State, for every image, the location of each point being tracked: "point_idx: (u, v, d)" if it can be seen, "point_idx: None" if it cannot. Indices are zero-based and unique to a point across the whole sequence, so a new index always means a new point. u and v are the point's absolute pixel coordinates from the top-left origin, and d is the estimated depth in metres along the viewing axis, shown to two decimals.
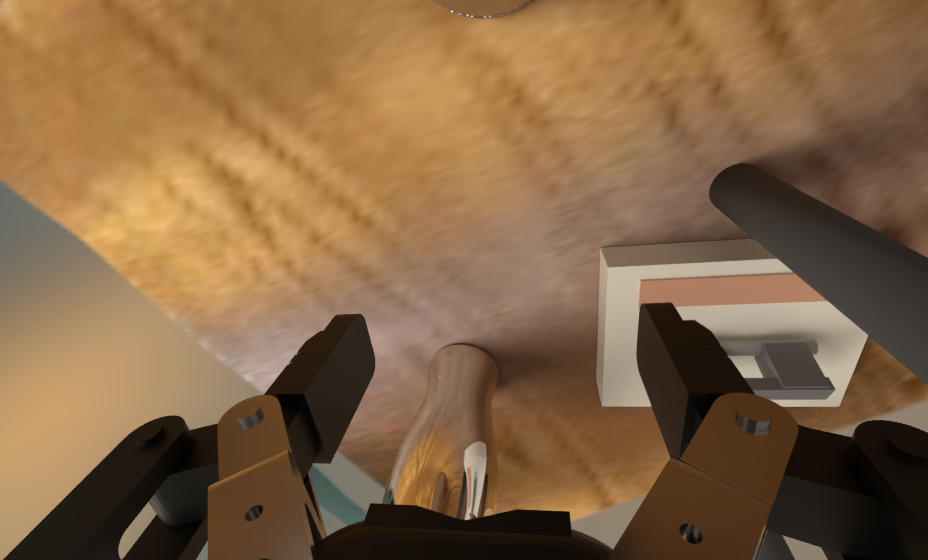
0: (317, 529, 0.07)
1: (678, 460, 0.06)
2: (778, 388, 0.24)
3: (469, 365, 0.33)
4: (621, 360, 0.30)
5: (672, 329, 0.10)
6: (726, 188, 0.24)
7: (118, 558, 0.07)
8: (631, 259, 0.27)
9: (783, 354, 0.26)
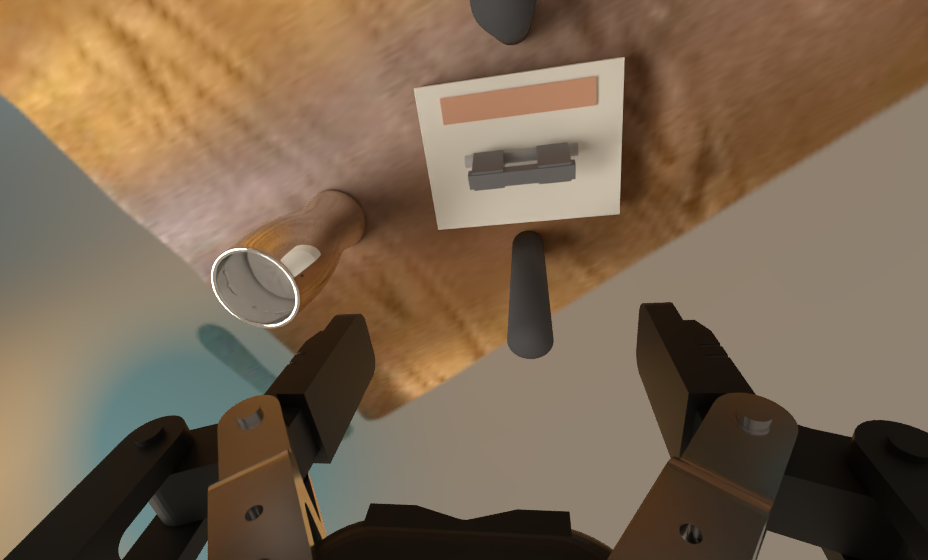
0: (317, 529, 0.07)
1: (678, 460, 0.06)
2: (535, 168, 0.31)
3: (331, 200, 0.40)
4: (443, 181, 0.36)
5: (672, 329, 0.10)
6: None
7: (118, 558, 0.07)
8: None
9: (547, 149, 0.32)
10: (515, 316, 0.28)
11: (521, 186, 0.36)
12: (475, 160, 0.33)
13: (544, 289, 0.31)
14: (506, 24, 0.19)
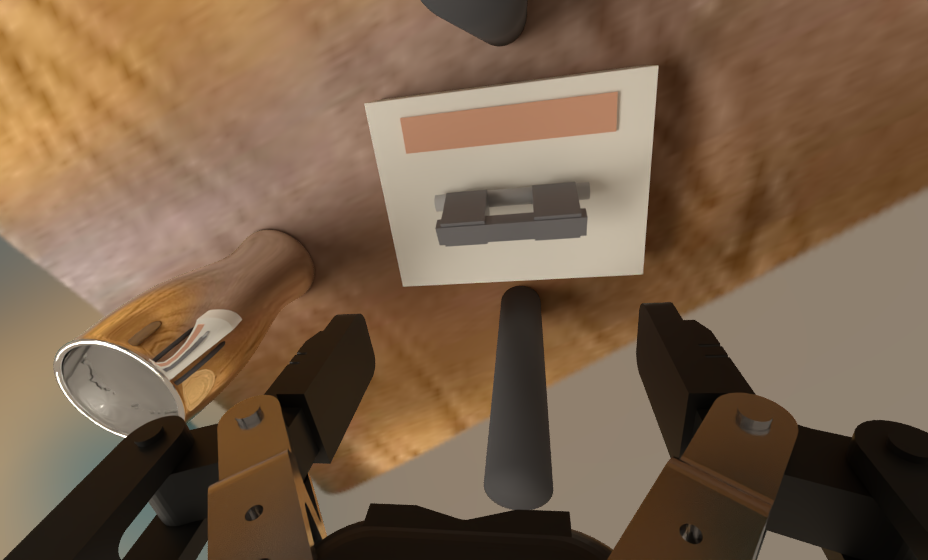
0: (317, 529, 0.07)
1: (678, 460, 0.06)
2: (530, 220, 0.22)
3: (265, 245, 0.30)
4: (407, 225, 0.27)
5: (672, 329, 0.10)
6: None
7: (118, 558, 0.07)
8: None
9: (547, 192, 0.23)
10: (496, 446, 0.19)
11: None
12: (447, 204, 0.24)
13: (540, 390, 0.22)
14: (473, 3, 0.10)
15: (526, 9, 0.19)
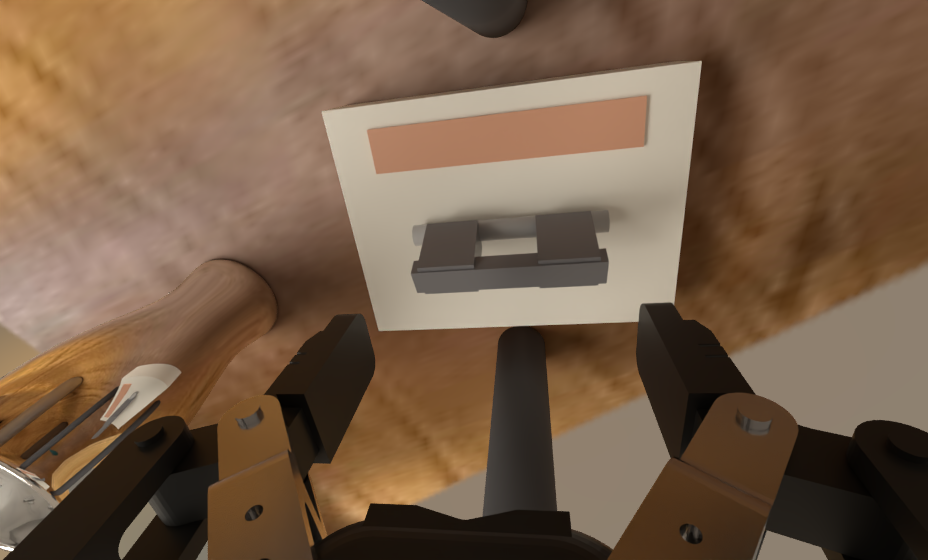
0: (317, 529, 0.07)
1: (678, 460, 0.06)
2: (533, 265, 0.17)
3: (213, 280, 0.25)
4: (381, 260, 0.22)
5: (672, 329, 0.10)
6: None
7: (118, 558, 0.07)
8: (361, 105, 0.20)
9: (555, 225, 0.18)
10: None
11: None
12: (427, 239, 0.19)
13: (547, 485, 0.17)
14: None
15: None
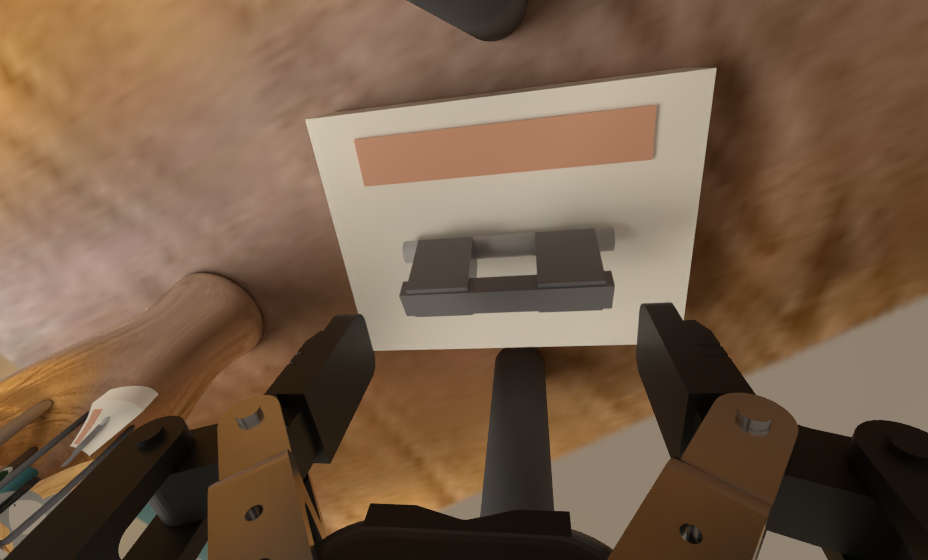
0: (317, 529, 0.07)
1: (678, 460, 0.06)
2: (532, 288, 0.15)
3: (193, 295, 0.24)
4: (370, 277, 0.21)
5: (672, 329, 0.10)
6: None
7: (118, 558, 0.07)
8: (349, 112, 0.18)
9: (556, 244, 0.17)
10: None
11: None
12: (418, 258, 0.17)
13: None
14: None
15: None
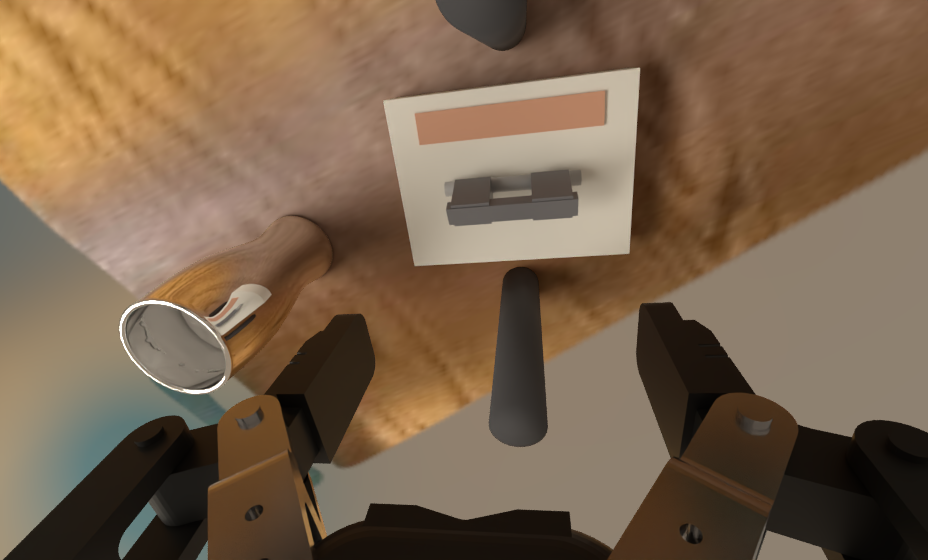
0: (317, 529, 0.07)
1: (678, 460, 0.06)
2: (528, 202, 0.25)
3: (290, 228, 0.34)
4: (419, 210, 0.31)
5: (672, 329, 0.10)
6: None
7: (118, 558, 0.07)
8: (410, 96, 0.28)
9: (544, 178, 0.26)
10: (499, 392, 0.22)
11: None
12: (456, 189, 0.27)
13: (537, 350, 0.25)
14: (484, 19, 0.14)
15: (525, 19, 0.22)
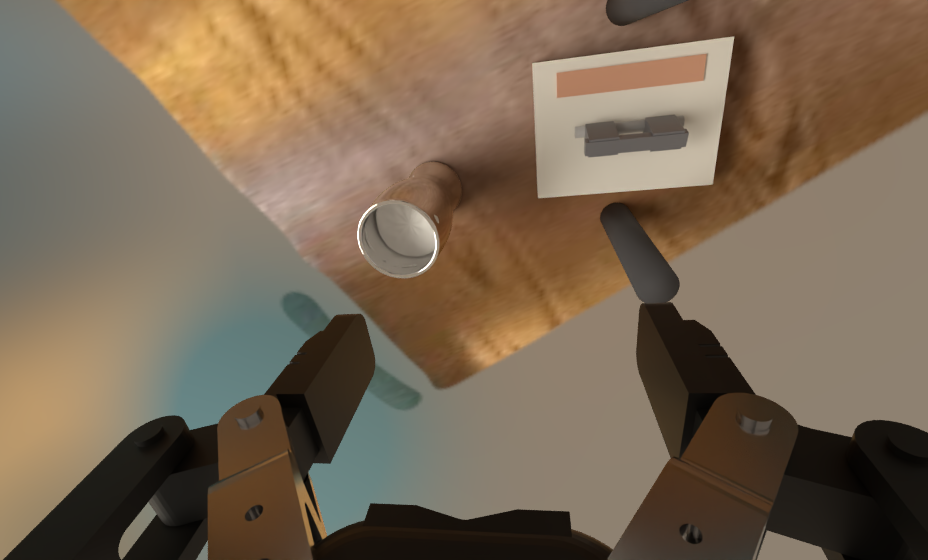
0: (317, 529, 0.07)
1: (678, 460, 0.06)
2: (650, 136, 0.34)
3: (436, 170, 0.42)
4: (548, 151, 0.39)
5: (672, 329, 0.10)
6: None
7: (118, 558, 0.07)
8: None
9: (657, 120, 0.35)
10: (641, 265, 0.31)
11: (622, 157, 0.39)
12: (589, 129, 0.36)
13: None
14: None
15: None
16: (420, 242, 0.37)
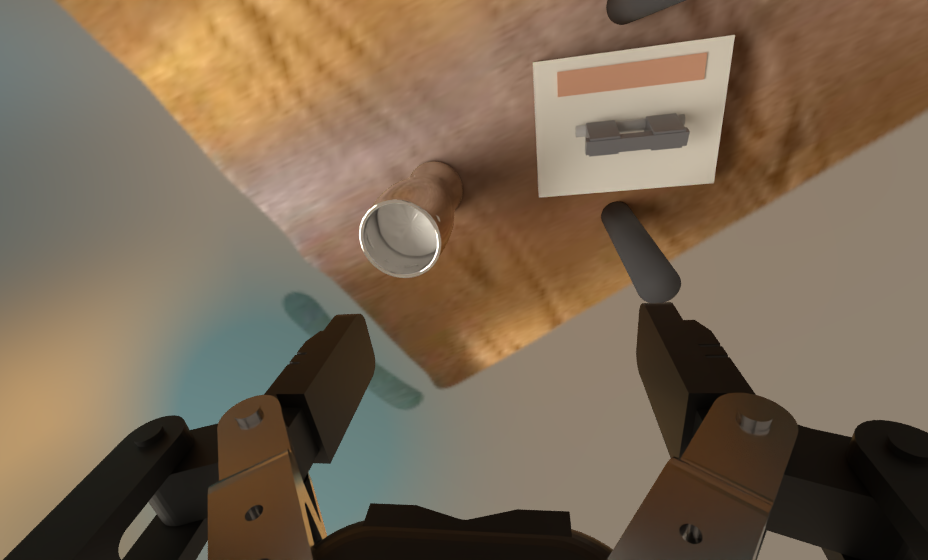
0: (317, 529, 0.07)
1: (678, 460, 0.06)
2: (651, 135, 0.34)
3: (437, 169, 0.42)
4: (549, 150, 0.39)
5: (672, 329, 0.10)
6: None
7: (118, 558, 0.07)
8: None
9: (658, 119, 0.35)
10: (642, 264, 0.31)
11: (623, 156, 0.39)
12: (590, 128, 0.36)
13: None
14: None
15: None
16: (422, 242, 0.37)
